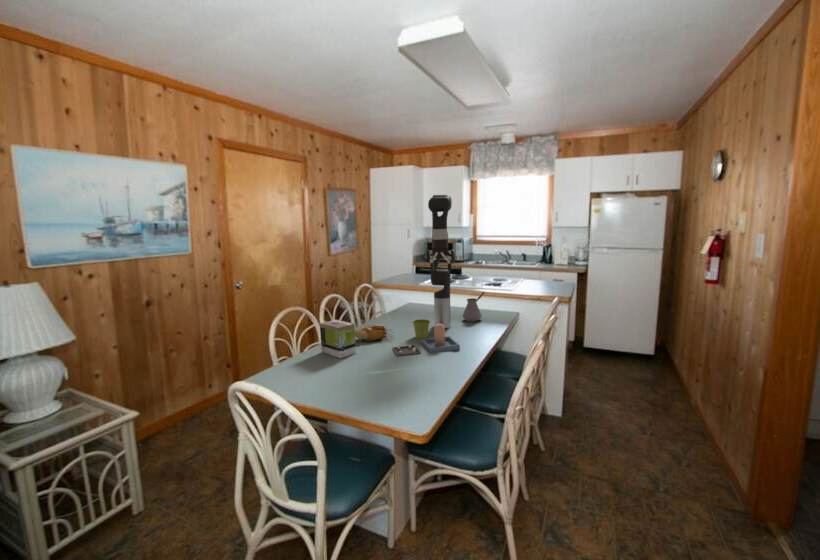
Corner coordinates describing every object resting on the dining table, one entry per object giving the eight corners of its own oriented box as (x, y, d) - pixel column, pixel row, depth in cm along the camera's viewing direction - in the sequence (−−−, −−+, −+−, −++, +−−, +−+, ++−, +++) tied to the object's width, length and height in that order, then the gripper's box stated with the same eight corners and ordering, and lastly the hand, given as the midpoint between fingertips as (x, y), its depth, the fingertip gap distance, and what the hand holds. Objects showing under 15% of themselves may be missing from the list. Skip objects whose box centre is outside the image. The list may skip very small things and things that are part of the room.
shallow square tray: (421, 343, 198) (421, 339, 198) (449, 340, 201) (449, 336, 201) (430, 353, 184) (430, 348, 184) (459, 349, 187) (459, 344, 187)
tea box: (357, 353, 188) (355, 323, 186) (339, 359, 181) (337, 327, 178) (337, 347, 198) (335, 318, 196) (320, 352, 191) (318, 322, 189)
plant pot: (430, 334, 213) (430, 319, 212) (430, 340, 204) (429, 323, 203) (413, 334, 214) (413, 319, 213) (412, 340, 205) (411, 323, 203)
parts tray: (392, 349, 191) (392, 345, 191) (414, 347, 193) (414, 343, 193) (397, 357, 180) (397, 352, 180) (420, 354, 183) (420, 350, 182)
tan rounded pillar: (433, 344, 195) (432, 322, 193) (443, 343, 196) (442, 321, 194) (436, 347, 190) (435, 325, 188) (446, 346, 191) (445, 324, 189)
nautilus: (400, 338, 210) (387, 349, 196) (365, 332, 218) (350, 342, 205) (400, 324, 208) (387, 334, 194) (364, 319, 216) (349, 327, 203)
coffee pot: (475, 323, 232) (475, 298, 229) (459, 321, 239) (458, 296, 237) (492, 315, 248) (492, 292, 246) (476, 313, 255) (476, 290, 253)
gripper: (456, 237, 196) (456, 269, 198) (428, 238, 201) (429, 269, 204) (452, 238, 189) (452, 272, 192) (424, 239, 194) (425, 271, 197)
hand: (440, 270), depth 198 cm, fingers open, 8 cm apart
